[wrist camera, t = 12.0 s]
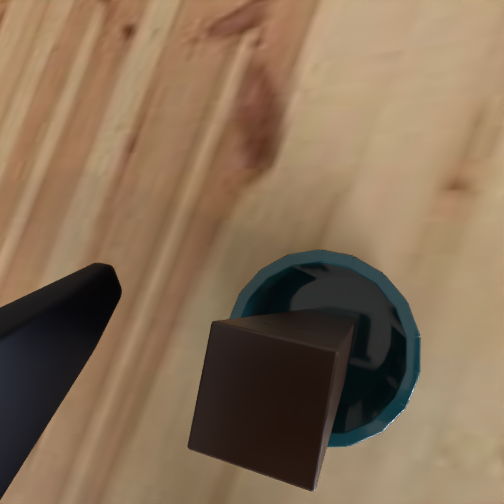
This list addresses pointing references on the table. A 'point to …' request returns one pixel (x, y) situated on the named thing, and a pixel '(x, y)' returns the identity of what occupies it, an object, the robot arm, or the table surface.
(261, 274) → the coffee cup
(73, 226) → the table surface
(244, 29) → the table surface
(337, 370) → the brown square bar
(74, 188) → the table surface
